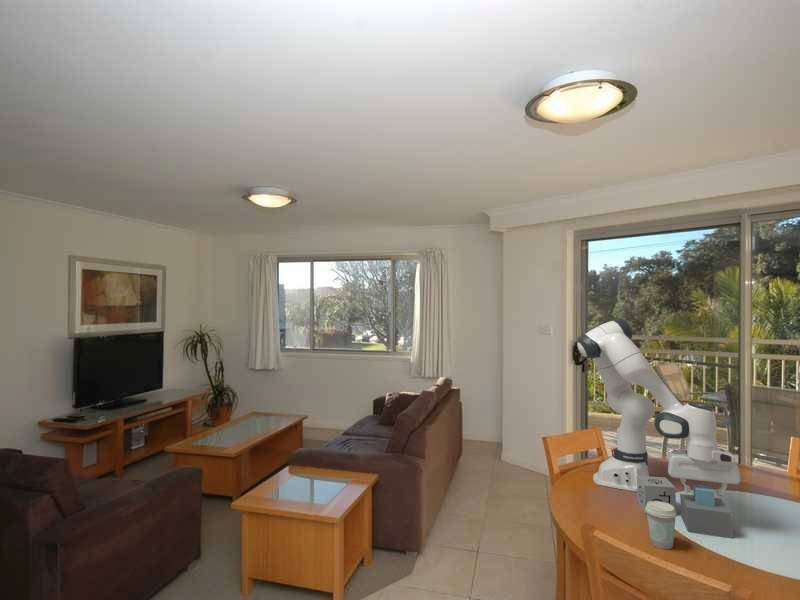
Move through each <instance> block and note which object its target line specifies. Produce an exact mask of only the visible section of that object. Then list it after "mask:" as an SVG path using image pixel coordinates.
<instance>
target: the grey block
mask: <svg viewBox="0 0 800 600" xmlns="http://www.w3.org/2000/svg"><path fill="white" fill-rule="evenodd" d="M679 496H680V499H679V500H680V517H681V521H682V522H683V524H684V527H685V528H686V531H687V532H688V533H692V534H699V535H705V536H706V535H707V536H713V537H719V538H720V537H721V538H726V539H727V538H728V539H733V528H732V512H731V511H730V510H729V508H728V506H727V505H726V504H725V502H724V501H723V500H722V498H720V497H714V498H715V507H712V506H703V505H697V504H696V502H695V500H694V494H687V493H679Z"/></svg>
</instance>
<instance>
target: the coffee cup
mask: <svg viewBox="0 0 800 600" xmlns="http://www.w3.org/2000/svg"><path fill="white" fill-rule="evenodd" d="M645 510H646V512H647V514H646V518H647V523H648V530H649V536H650V543H651V544H652V545H653V546H655V548H659V549H662V550H671V549H673V548H674V540H675V528H676V517H677V516H678V514H677V510H676V511H675V508H674V507H673V506H672V505H670V504H668V503H665V502H661V501H650V502H648V503H647V505H646V508H645Z"/></svg>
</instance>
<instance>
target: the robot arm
mask: <svg viewBox="0 0 800 600" xmlns="http://www.w3.org/2000/svg"><path fill="white" fill-rule="evenodd" d="M633 334H634V332H633V329H632V327H631V326H630V324H629V323H628V322H627V321H626V320H625V319H623V318H614V319H611V320H610V321H608V322H605V323H602V324H599V325H597V326H596V327H594V328H592V329H591V330H589V331H587V332H585V333H583V334H582V335H580V336H579V337H578V338H577V339H576V345H577V349H578V351H579V353H580V354H581V355H582V356H583V358H585V359H589V360H590V359H591V360H592V361H593V363H594V366H595V368H596V369H597V372H598V374H599V376H600V378H601V380H602V383H603V384H604V388H605V391H606V403H607V405H608V406H609V408H611V409H612V410H613V412H616V413H617V414H620V415H621V420H620V424H619V426H618V427H617V429H616V447H615V446H611V447H610V452H611V455H612V456H611V457H609V458H607V459H606V460H604V461H602V462H601V463H600V464H599V467H598V471H597V472H595V473H594V474H593V476H592V477H593V478H592V479H593V482H594V483H595V484H596V485H597V486H603V487H608V488H614V489H620V490H624V491H629V492H636V493H637V476H649V477H650V473H649V468H648V466H649V464H648V463H649V453H648V450H647V436H646V435H647V429H648V424H649V421H650V420H651V419H652V418H653V417H654V416H655V417H654V421H653V423H654V427H655V430H656V432H657V433H659V435H661V436H663V437H664V438H667V439H685V445H686V446H685V447H686V449H685V450H682V449H681V450H680V449H671V450H668V451H667V453H666V460H667V462H668V464H667V473H668V475H669V476H670V477H671V478H673V479H680V482H681V484H682V485H683V487H684V488H683V490H684V492H685V493H691V487H690V485H687V484H686V482H687V480H692V481H699V482H700V481H701V482H710V483H717V484H718V483H719V484H721V486H720V488H716V492H717V493H716V494H717V496H719V497H725V496H724V495H725V491H726V490H727V488H728V485H729V484H730V485H739V484H740V483H741V473H740V469H739V467H738V465H737V463H736V457H735V455H734V454H733V453H732V452H730V451H729V450H727V449H723V448H720V447H719V446H718V442H717V433H718V431H717V428H718V427H717V420H716V419H717V418H716V414H715V412H714V410H713V408H712V407H710V406H708V405H707V404H704V403H701V402H695V401H691V402H690V401H689V402H687V403H686V404H685V403H684V402H682V401H681V400H680V399H679V398H678V397H677V396H676V394H675V393H674V392H673V391H672V390H671V388H670V387H669V386H668V385H667V384H666V382H665V381H664V380H663V379H662V378H661V376H660V375H659V374H658V373H657V371H655V369H654V368H653V367H652V366H651V364H650V363H649V361H648V360H647V359H646V357H645V355H644V354H643V352H641V350H640V348H638V347H637V345H636V344H635V343H634V342H633V341H632V338H633V336H634V335H633ZM631 384H634V385H638V386H640V387H642V388H644V389H646V390H647V391H648V392H649V393H650V394H651V395H652V397H654V400H656V401H657V402H658V404H659V406H660V407H661V408H662V409H663V411H661V412H659V413H657V414H656V415H655V413H656V406H655V404H654V402H653V401H652V400H651V399H650V398H649V397H647V396H646V395H644V394H641V393H638V392H636V391H634V390H633V388H632V385H631Z"/></svg>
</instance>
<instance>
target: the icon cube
mask: <svg viewBox="0 0 800 600" xmlns="http://www.w3.org/2000/svg"><path fill="white" fill-rule="evenodd" d="M636 494H637V503H638V505H639V506H640V508H641V509H642V510H643V512H644V514H646V515H647V512H646V510H645V508H646V505H647V503H648V502H650V501H661V502H665V503H668V504H670V505H672V506H673V507H674V508H675V511H676V512H677V500H676V499H677V498H676V494H677V493H676V487H675V485H674V484H673V483H672V482H670V480H669V479H668V478H667V477H664V476H662V477H661V476H650V475H649V476H637V492H636Z"/></svg>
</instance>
